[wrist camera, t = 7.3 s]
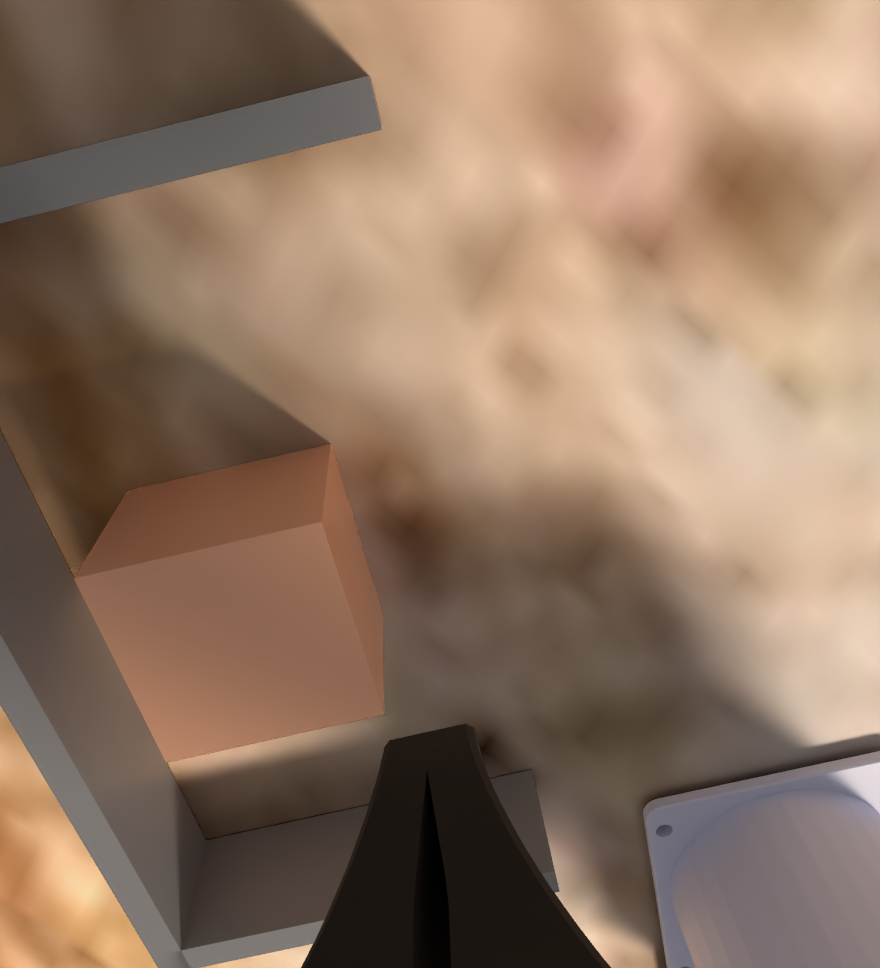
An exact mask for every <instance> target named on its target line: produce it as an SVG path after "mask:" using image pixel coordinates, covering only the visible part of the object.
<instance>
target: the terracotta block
mask: <svg viewBox="0 0 880 968" xmlns="http://www.w3.org/2000/svg"><path fill="white" fill-rule="evenodd" d="M74 580H75V582H76V584H77V586H78V588H79V590H80V592H81V594H82V596H83V598H84V600H85V602H86V604H87V606H88V608H89V610H90V612H91V614H92V616H93V618H94V620H95V622H96V624H97V626H98V628H99V630H100V632H101V634H102V636H103V638H104V640H105V642H106V644H107V646H108V648H109V650H110V652H111V654H112V656H113V658H114V660H115V662H116V664H117V666H118V668H119V670H120V672H121V674H122V676H123V678H124V680H125V682H126V684H127V686H128V688H129V690H130V692H131V694H132V696H133V698H134V700H135V702H136V704H137V706H138V708H139V710H140V712H141V714H142V716H143V718H144V720H145V722H146V724H147V726H148V728H149V730H150V732H151V734H152V736H153V738H154V740H155V742H156V744H157V746H158V748H159V750H160V752H161V754H162V756H163V758H164V760H165V762H166V763H168V762H172V761H177V760H181V759H186V758H190V757H195V756H199V755H204V754H208V753H213V752H218V751H222V750H227V749H231V748H236V747H240V746H245V745H249V744H254V743H258V742H263V741H267V740H272V739H276V738H281V737H285V736H290V735H294V734H299V733H304V732H308V731H313V730H317V729H322V728H326V727H331V726H335V725H340V724H344V723H349V722H353V721H358V720H362V719H367V718H371V717H376V716H381V715H384V652H383V612H382V609H381V606H380V602H379V599H378V596H377V593H376V589H375V586H374V583H373V579H372V576H371V573H370V570H369V566H368V563H367V560H366V557H365V553H364V550H363V547H362V543H361V540H360V537H359V534H358V530H357V527H356V524H355V520H354V517H353V514H352V511H351V507H350V504H349V501H348V498H347V494H346V491H345V488H344V484H343V481H342V478H341V475H340V471H339V468H338V465H337V461H336V458H335V455H334V452H333V448H332V445H331V444H327V445H322V446H318V447H314V448H309V449H305V450H301V451H296V452H292V453H288V454H283V455H279V456H275V457H270V458H266V459H262V460H257V461H253V462H249V463H244V464H240V465H236V466H231V467H227V468H223V469H218V470H214V471H210V472H205V473H201V474H197V475H192V476H188V477H184V478H180V479H175V480H171V481H167V482H162V483H158V484H154V485H149V486H145V487H141V488H136V489H132V490H128V491H127V492H126V494H125V495H124V497H123V499H122V500H121V502H120V503H119V505H118V507H117V508H116V510H115V512H114V513H113V515H112V517H111V518H110V520H109V522H108V523H107V525H106V526H105V528H104V530H103V531H102V533H101V535H100V536H99V538H98V540H97V541H96V543H95V545H94V546H93V548H92V549H91V551H90V553H89V554H88V556H87V558H86V559H85V561H84V563H83V564H82V566H81V568H80V569H79V571H78V572H77V574H76V576H75V577H74Z"/></svg>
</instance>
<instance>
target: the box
mask: <svg viewBox="0 0 880 968" xmlns="http://www.w3.org/2000/svg"><path fill="white" fill-rule="evenodd" d="M378 130H382V129H381V120H380V115H379V111H378V107H377V102H376V98H375V94H374V90H373V85H372V81H371V77H370V76H365V77H361V78H357V79H353V80H349V81H345V82H341V83H337V84H333V85H329V86H325V87H321V88H317V89H313V90H309V91H305V92H301V93H297V94H293V95H289V96H285V97H281V98H277V99H273V100H269V101H265V102H261V103H257V104H253V105H249V106H245V107H241V108H237V109H233V110H229V111H224V112H220V113H216V114H212V115H208V116H204V117H200V118H196V119H192V120H188V121H184V122H180V123H176V124H172V125H168V126H164V127H160V128H156V129H152V130H148V131H144V132H140V133H136V134H132V135H128V136H124V137H120V138H116V139H112V140H108V141H104V142H100V143H96V144H92V145H88V146H84V147H80V148H76V149H72V150H68V151H64V152H60V153H56V154H52V155H48V156H44V157H40V158H36V159H32V160H27V161H23V162H19V163H15V164H11V165H7V166H3V167H0V224H1V223H5V222H9V221H13V220H17V219H21V218H25V217H29V216H33V215H37V214H41V213H45V212H49V211H53V210H57V209H61V208H66V207H70V206H74V205H78V204H82V203H86V202H90V201H94V200H98V199H102V198H106V197H110V196H114V195H118V194H122V193H126V192H130V191H135V190H139V189H143V188H147V187H151V186H155V185H159V184H163V183H167V182H171V181H175V180H179V179H183V178H187V177H191V176H195V175H200V174H204V173H208V172H212V171H216V170H220V169H224V168H228V167H232V166H236V165H240V164H244V163H248V162H252V161H256V160H260V159H265V158H269V157H273V156H277V155H281V154H285V153H289V152H293V151H297V150H301V149H305V148H309V147H313V146H317V145H321V144H325V143H329V142H334V141H338V140H342V139H346V138H350V137H354V136H358V135H362V134H366V133H370V132H374V131H378ZM0 705H1V707H2V708H3V710H4V712H5V713H6V715H7V717H8V718H9V720H10V722H11V723H12V725H13V727H14V728H15V730H16V732H17V733H18V735H19V737H20V738H21V740H22V742H23V743H24V745H25V747H26V748H27V750H28V752H29V753H30V755H31V757H32V758H33V760H34V762H35V763H36V765H37V767H38V768H39V770H40V772H41V773H42V775H43V777H44V778H45V780H46V782H47V783H48V785H49V787H50V788H51V790H52V792H53V793H54V795H55V797H56V798H57V800H58V802H59V803H60V805H61V807H62V808H63V810H64V812H65V813H66V815H67V817H68V818H69V820H70V822H71V823H72V825H73V827H74V828H75V830H76V832H77V833H78V835H79V837H80V838H81V840H82V842H83V843H84V845H85V847H86V848H87V850H88V852H89V853H90V855H91V857H92V858H93V860H94V862H95V863H96V865H97V867H98V868H99V870H100V872H101V873H102V875H103V877H104V878H105V880H106V882H107V883H108V885H109V887H110V888H111V890H112V892H113V893H114V895H115V897H116V898H117V900H118V902H119V903H120V905H121V907H122V908H123V910H124V912H125V913H126V915H127V917H128V918H129V920H130V922H131V923H132V925H133V927H134V928H135V930H136V932H137V933H138V935H139V937H140V938H141V940H142V942H143V943H144V945H145V947H146V948H147V950H148V952H149V953H150V955H151V957H152V958H153V960H154V962H155V963H156V965H157V967H158V968H200V967H205V966H209V965H214V964H219V963H223V962H228V961H233V960H238V959H242V958H247V957H252V956H257V955H261V954H266V953H271V952H276V951H280V950H285V949H290V948H294V947H299V946H304V945H309V944H313V943H314V941H315V939H316V937H317V935H318V933H319V931H320V929H321V926H322V924H323V922H324V920H325V918H326V916H327V913H328V911H329V909H330V906H331V904H332V901H333V899H334V897H335V894H336V892H337V890H338V887H339V885H340V883H341V880H342V878H343V875H344V873H345V871H346V868H347V866H348V863H349V861H350V858H351V855H352V852H353V850H354V847H355V844H356V841H357V838H358V836H359V833H360V830H361V827H362V824H363V822H364V819H365V816H366V813H367V810H368V806H369V805H366V806H362V807H357V808H352V809H348V810H343V811H339V812H334V813H329V814H325V815H320V816H316V817H311V818H306V819H302V820H297V821H292V822H288V823H283V824H279V825H274V826H269V827H265V828H260V829H256V830H251V831H246V832H242V833H237V834H233V835H228V836H223V837H219V838H214V839H209V840H206V839H205V837H204V835H203V833H202V831H201V829H200V827H199V825H198V823H197V821H196V819H195V817H194V815H193V813H192V812H191V810H190V808H189V806H188V804H187V802H186V800H185V798H184V796H183V794H182V792H181V790H180V788H179V786H178V784H177V782H176V780H175V778H174V776H173V774H172V772H171V770H170V768H169V766H168V764H167V763H166V762H165V760H164V758H163V756H162V754H161V752H160V750H159V748H158V746H157V744H156V742H155V740H154V738H153V736H152V734H151V732H150V730H149V728H148V726H147V724H146V722H145V720H144V718H143V716H142V714H141V712H140V710H139V708H138V706H137V704H136V702H135V700H134V698H133V696H132V694H131V692H130V690H129V688H128V686H127V684H126V682H125V680H124V678H123V676H122V674H121V672H120V670H119V668H118V666H117V664H116V662H115V660H114V658H113V656H112V654H111V652H110V650H109V648H108V646H107V644H106V642H105V640H104V638H103V636H102V634H101V632H100V630H99V628H98V626H97V624H96V622H95V620H94V618H93V616H92V614H91V612H90V610H89V608H88V606H87V604H86V602H85V600H84V598H83V596H82V594H81V592H80V590H79V588H78V586H77V584H76V582H75V580H74V576H73V574H72V572H71V570H70V568H69V566H68V564H67V562H66V560H65V559H64V557H63V555H62V553H61V551H60V549H59V547H58V545H57V543H56V541H55V539H54V537H53V535H52V533H51V531H50V529H49V527H48V525H47V523H46V521H45V519H44V517H43V515H42V513H41V511H40V509H39V507H38V505H37V503H36V501H35V499H34V497H33V495H32V493H31V491H30V489H29V487H28V485H27V483H26V481H25V479H24V477H23V475H22V473H21V471H20V469H19V467H18V465H17V463H16V461H15V459H14V457H13V455H12V453H11V451H10V449H9V447H8V445H7V443H6V441H5V439H4V437H3V435H2V433H1V431H0ZM490 781H491V783H492V785H493V788H494V790H495V792H496V794H497V796H498V798H499V800H500V802H501V804H502V806H503V808H504V810H505V812H506V814H507V815H508V817H509V819H510V821H511V823H512V825H513V827H514V828H515V830H516V832H517V834H518V836H519V837H520V839H521V841H522V843H523V844H524V846H525V848H526V849H527V851H528V853H529V854H530V856H531V857H532V859H533V861H534V862H535V864H536V865H537V867H538V869H539V870H540V872H541V873H542V875H543V876H544V878H545V879H546V881H547V883H548V884H549V886H550V887H551V889H552V890H553V891H554V893H555V892H559V888H558V883H557V879H556V874H555V870H554V866H553V861H552V857H551V852H550V848H549V843H548V839H547V835H546V830H545V826H544V821H543V817H542V812H541V808H540V803H539V799H538V795H537V790H536V786H535V782H534V777H533V773H532V770H528V771H523V772H518V773H514V774H509V775H505V776H500V777H495V778H491V779H490Z"/></svg>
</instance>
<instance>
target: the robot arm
mask: <svg viewBox="0 0 880 968" xmlns="http://www.w3.org/2000/svg"><path fill="white" fill-rule="evenodd" d="M643 818H644V824H645V831H646V837H647V843H648V850H649V856H650V863H651V869H652V876H653V882H654V889H655V895H656V902H657V908H658V914H659V921H660V927H661V934H662V940H663V947H664V953H665V960H666V966H667V968H880V751H877V752H872V753H868V754H863V755H858V756H854V757H849V758H844V759H840V760H835V761H830V762H826V763H821V764H816V765H812V766H807V767H802V768H798V769H793V770H788V771H784V772H779V773H774V774H770V775H765V776H760V777H756V778H751V779H747V780H742V781H737V782H733V783H728V784H723V785H719V786H714V787H709V788H705V789H700V790H695V791H691V792H686V793H681V794H677V795H672V796H667V797H663V798H658V799H655V800H652V801H650V802H649V803H648V804H647V805H646V806H645V808H644V809H643ZM662 825H663V826H662ZM301 968H611V967H610V966H609V965H608V963H607V962H606V961H605V960H604V959H603V957H602V956H601V955H600V954H599V952H598V951H597V950H596V949H595V947H594V946H593V945H592V943H591V942H590V941H589V940H588V938H587V937H586V936H585V934H584V933H583V932H582V930H581V929H580V928H579V927H578V925H577V924H576V922H575V921H574V920H573V918H572V917H571V915H570V914H569V913H568V911H567V910H566V909H565V907H564V906H563V904H562V903H561V902H560V900H559V899H558V897H557V896H556V894H555V893H554V891H553V890H552V889H551V887H550V886H549V884H548V883H547V881H546V879H545V878H544V876H543V875H542V873H541V872H540V870H539V869H538V867H537V865H536V864H535V862H534V861H533V859H532V857H531V856H530V854H529V853H528V851H527V849H526V848H525V846H524V844H523V843H522V841H521V839H520V837H519V836H518V834H517V832H516V830H515V828H514V827H513V825H512V823H511V821H510V819H509V817H508V815H507V814H506V812H505V810H504V808H503V806H502V804H501V802H500V800H499V798H498V796H497V794H496V792H495V790H494V788H493V785H492V783H491V781H490V778H489V776H488V774H487V771H486V769H485V766H484V762H483V758H482V755H481V751H480V747H479V744H478V740H477V736H476V733H475V729H474V728H473V727H471V726H470V725H468V724H462V725H457V726H453V727H448V728H444V729H439V730H435V731H430V732H425V733H421V734H416V735H412V736H407V737H403V738H398V739H394V740H390V741H389V742H388V743H387V745H386V746H385V747H384V752H383V756H382V761H381V765H380V769H379V773H378V776H377V780H376V784H375V787H374V790H373V794H372V797H371V800H370V803H369V806H368V810H367V813H366V816H365V819H364V822H363V824H362V827H361V830H360V833H359V836H358V838H357V841H356V844H355V847H354V850H353V852H352V855H351V858H350V861H349V863H348V866H347V868H346V871H345V873H344V875H343V878H342V880H341V883H340V885H339V887H338V890H337V892H336V894H335V897H334V899H333V901H332V904H331V906H330V909H329V911H328V913H327V916H326V918H325V920H324V922H323V924H322V926H321V929H320V931H319V933H318V935H317V937H316V939H315V941H314V943H313V945H312V947H311V949H310V951H309V954H308V955H307V957H306V959H305V961H304V963H303V965H302V967H301Z"/></svg>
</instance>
